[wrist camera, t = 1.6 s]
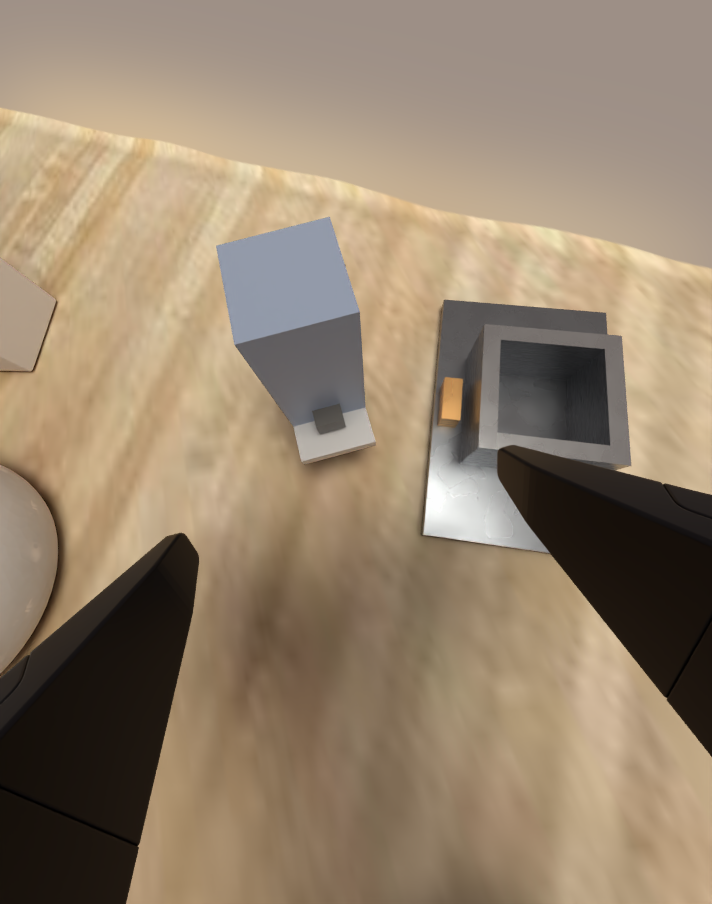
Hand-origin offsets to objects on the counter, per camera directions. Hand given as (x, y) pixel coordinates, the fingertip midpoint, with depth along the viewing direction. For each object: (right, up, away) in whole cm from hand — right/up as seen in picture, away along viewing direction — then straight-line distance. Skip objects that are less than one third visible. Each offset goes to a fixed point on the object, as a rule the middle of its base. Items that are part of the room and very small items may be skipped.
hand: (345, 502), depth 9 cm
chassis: (+12, +4, +14) cm, 19 cm away
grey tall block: (-2, +4, +15) cm, 16 cm away
